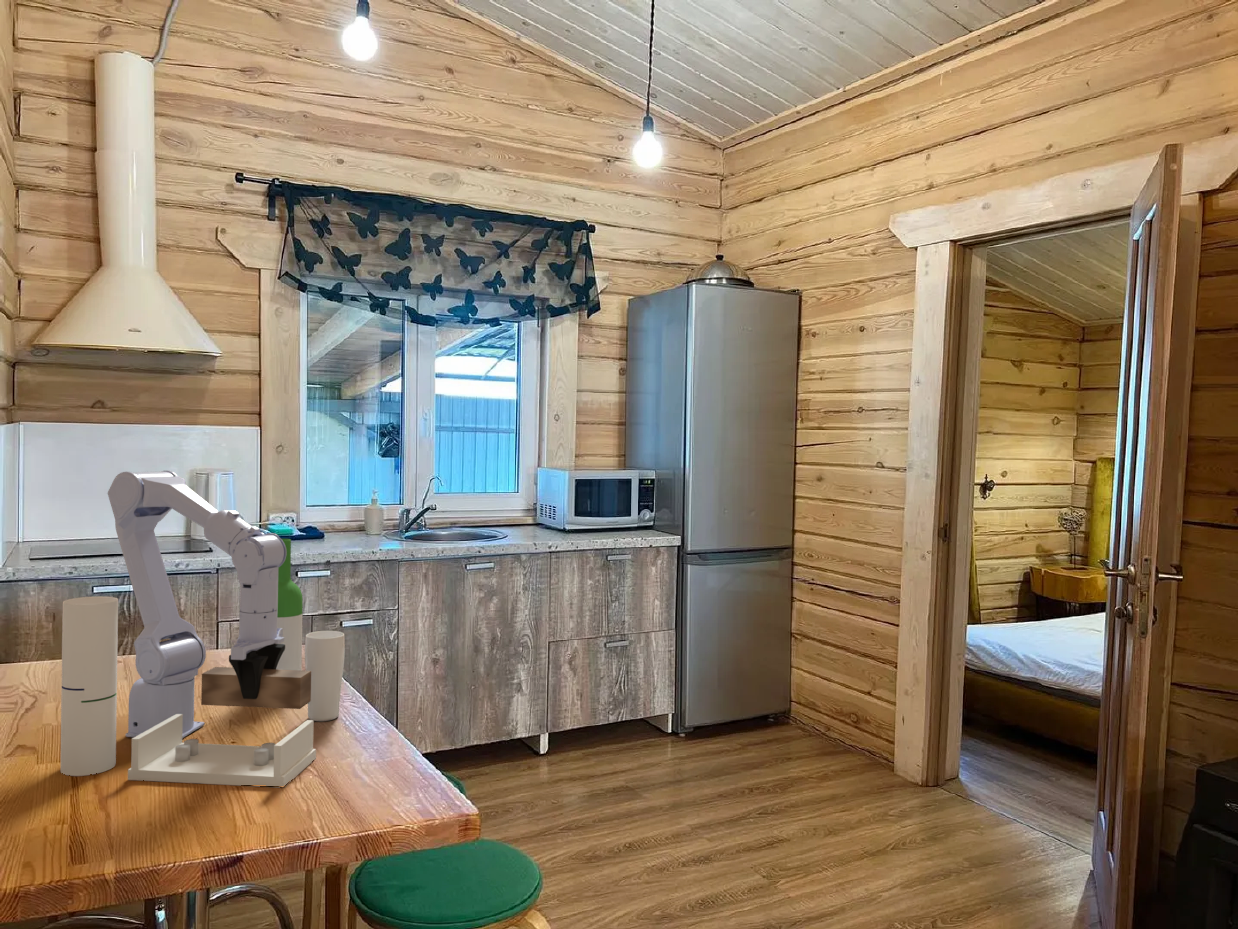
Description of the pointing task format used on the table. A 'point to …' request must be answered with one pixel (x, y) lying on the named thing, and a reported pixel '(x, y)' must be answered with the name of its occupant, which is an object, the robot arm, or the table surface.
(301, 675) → the brown wooden bar
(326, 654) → the drinking glass
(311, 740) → the shelf stand
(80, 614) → the cylindrical container
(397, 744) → the table surface
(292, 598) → the wine bottle
